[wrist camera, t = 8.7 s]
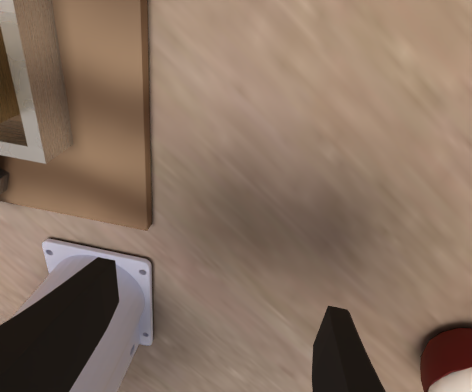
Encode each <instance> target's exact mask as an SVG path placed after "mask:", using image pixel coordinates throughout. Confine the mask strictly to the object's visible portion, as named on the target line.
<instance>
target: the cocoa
mask: <svg viewBox="0 0 472 392" xmlns="http://www.w3.org/2000/svg"><path fill="white" fill-rule="evenodd" d="M420 370H421V381H422V385H423V390H424V392H472V328H457V329H453V330H449V331H445V332H442V333H440V334H439V335H437V336H435V337H434V338H432V339H431V340H430V341H429V342H428V344H427V346H426V348H425V350H424V352H423V354H422V355H421V363H420Z"/></svg>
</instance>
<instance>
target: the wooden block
mask: <svg viewBox="0 0 472 392" xmlns="http://www.w3.org/2000/svg"><path fill="white" fill-rule="evenodd" d="M19 114H20V110H19V106H18V101H17V97H16V92H15V88H14V84H13V79H12V75H11V70H10V66H9V62H8V57H7V53H6V48H5V44H4V40H3V35H2V31H1V26H0V123H2V122H4V121H6V120H8V119H10V118H13V117H15V116H17V115H19Z"/></svg>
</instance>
